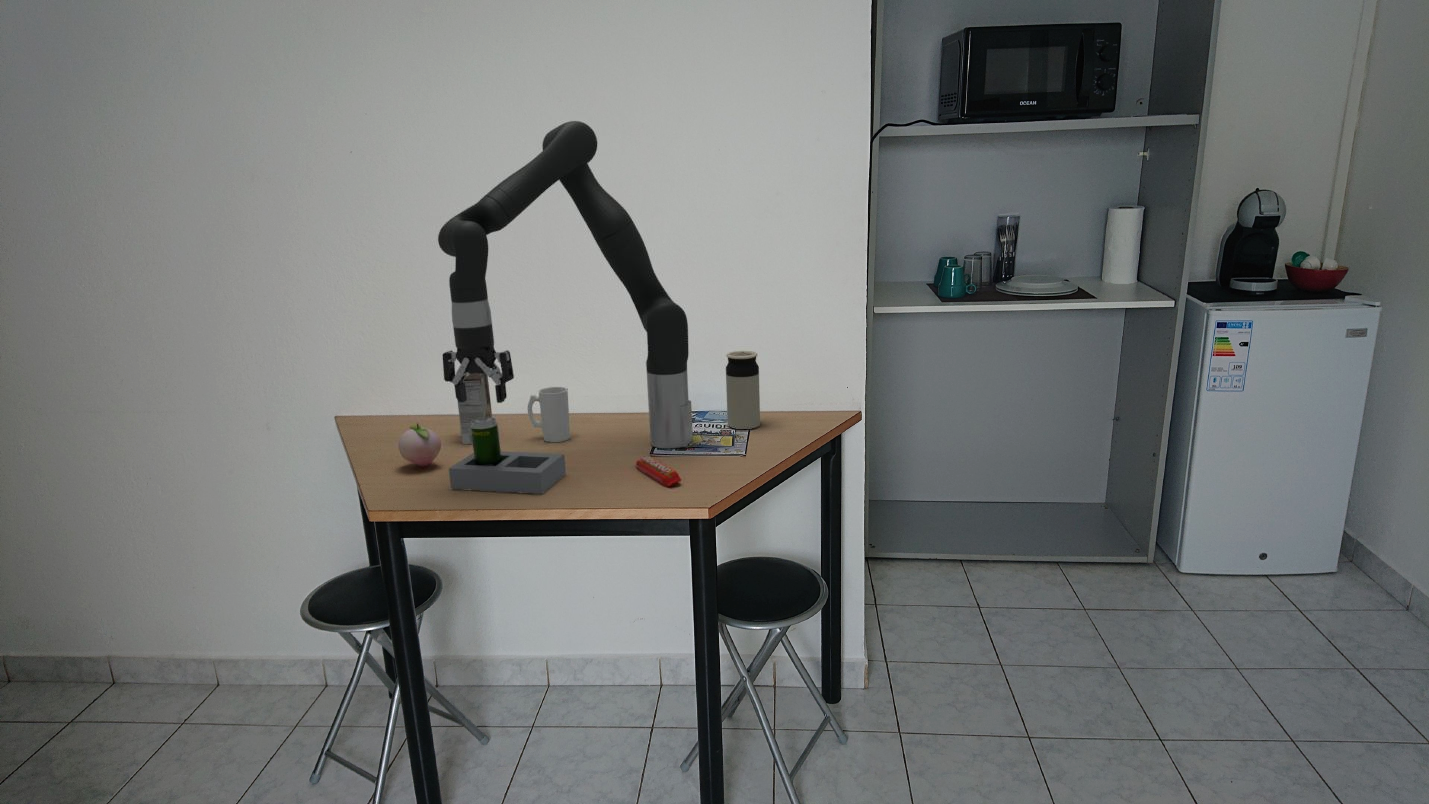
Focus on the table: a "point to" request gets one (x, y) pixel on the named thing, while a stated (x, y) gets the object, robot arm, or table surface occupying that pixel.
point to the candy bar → (658, 471)
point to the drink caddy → (510, 473)
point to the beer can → (486, 441)
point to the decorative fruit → (419, 445)
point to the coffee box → (474, 403)
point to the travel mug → (742, 390)
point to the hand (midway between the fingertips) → (481, 401)
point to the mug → (552, 413)
